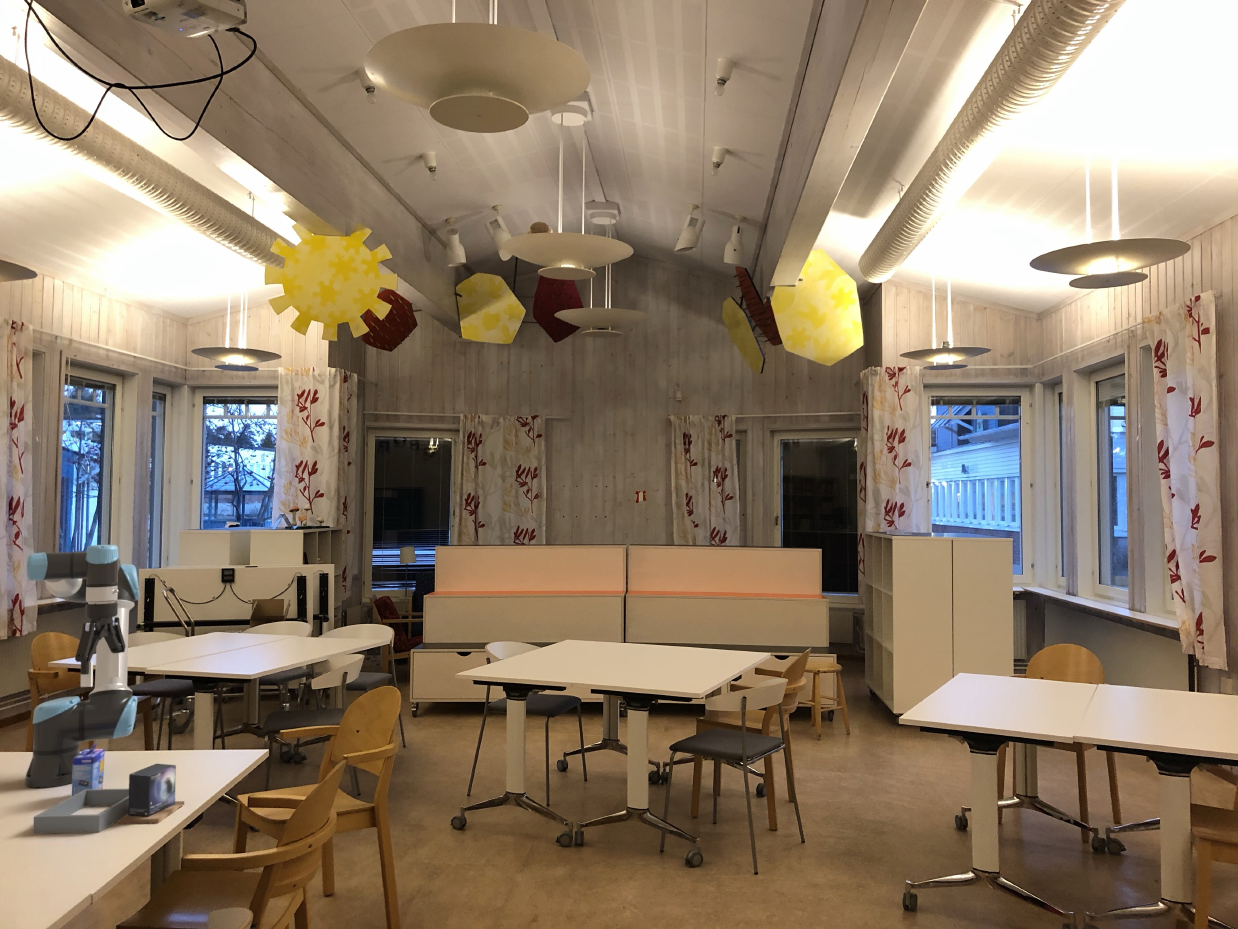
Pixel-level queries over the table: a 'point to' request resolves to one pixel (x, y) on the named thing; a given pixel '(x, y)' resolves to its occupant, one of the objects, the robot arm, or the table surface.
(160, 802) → the small box
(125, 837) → the table surface
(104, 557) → the robot arm
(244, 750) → the table surface
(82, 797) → the bin
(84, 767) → the ink cartridge box
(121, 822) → the board
